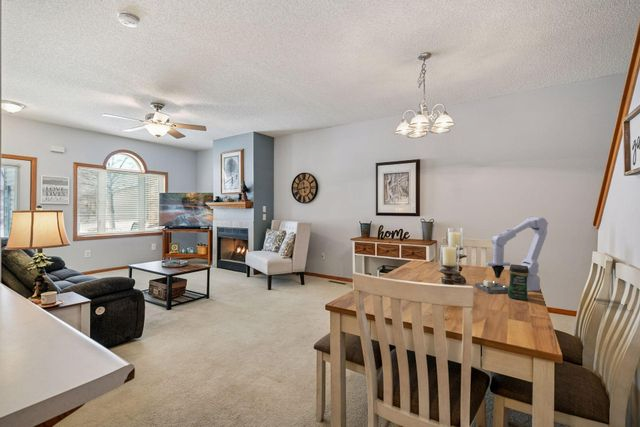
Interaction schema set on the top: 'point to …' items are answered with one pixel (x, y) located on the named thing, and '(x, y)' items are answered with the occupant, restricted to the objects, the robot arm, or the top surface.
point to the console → (493, 287)
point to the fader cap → (487, 283)
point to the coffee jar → (518, 282)
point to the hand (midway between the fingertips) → (497, 277)
